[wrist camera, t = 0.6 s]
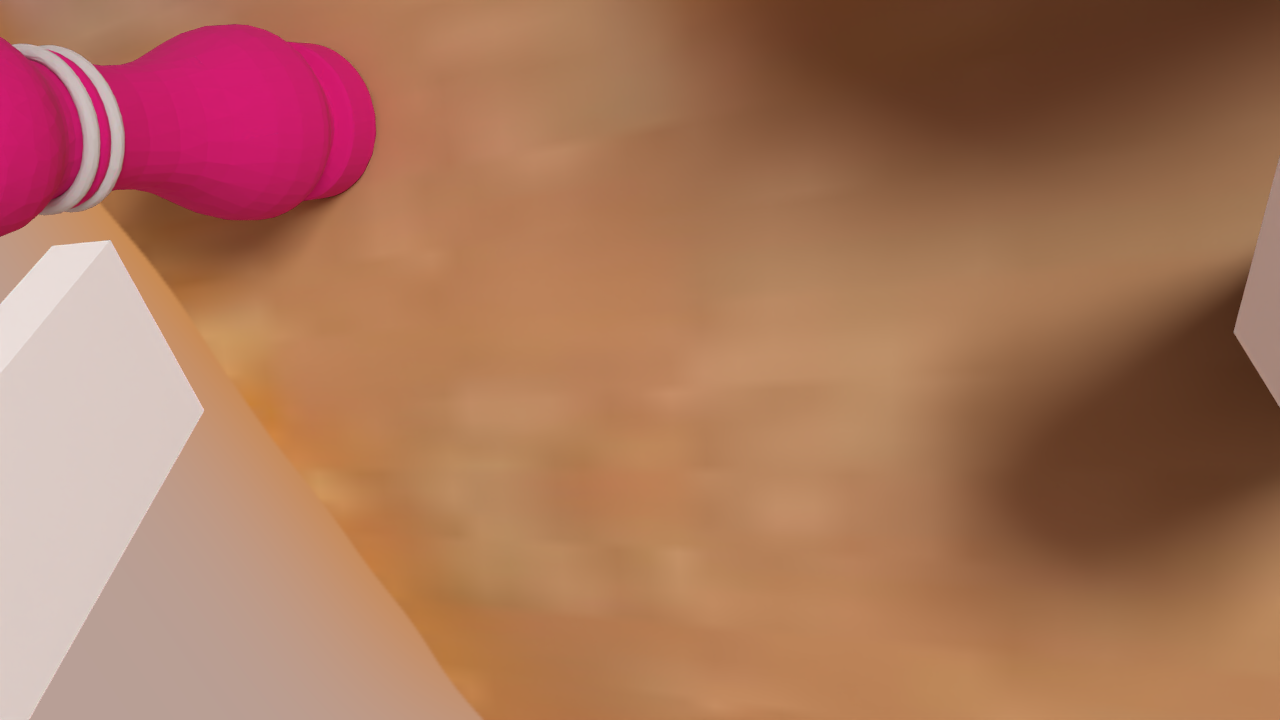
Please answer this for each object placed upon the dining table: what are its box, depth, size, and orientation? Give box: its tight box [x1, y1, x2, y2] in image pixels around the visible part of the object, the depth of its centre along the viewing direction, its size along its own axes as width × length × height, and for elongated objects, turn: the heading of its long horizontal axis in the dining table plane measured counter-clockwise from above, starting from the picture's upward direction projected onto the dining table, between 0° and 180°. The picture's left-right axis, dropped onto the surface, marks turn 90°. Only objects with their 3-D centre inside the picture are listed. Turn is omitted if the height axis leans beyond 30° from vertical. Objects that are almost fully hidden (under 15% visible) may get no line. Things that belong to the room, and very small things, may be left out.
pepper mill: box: [0, 24, 376, 237], centre depth 34 cm, size 7×7×20 cm
